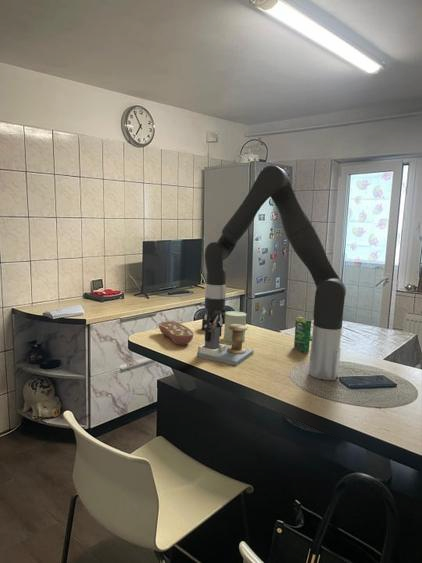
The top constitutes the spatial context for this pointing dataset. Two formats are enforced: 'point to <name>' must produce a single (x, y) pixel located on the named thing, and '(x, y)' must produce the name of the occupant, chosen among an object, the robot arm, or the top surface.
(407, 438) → the top surface
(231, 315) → the can
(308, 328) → the coffee box
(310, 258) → the robot arm
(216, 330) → the gray rectangular block
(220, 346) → the board
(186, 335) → the bread loaf
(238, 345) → the bobbin
